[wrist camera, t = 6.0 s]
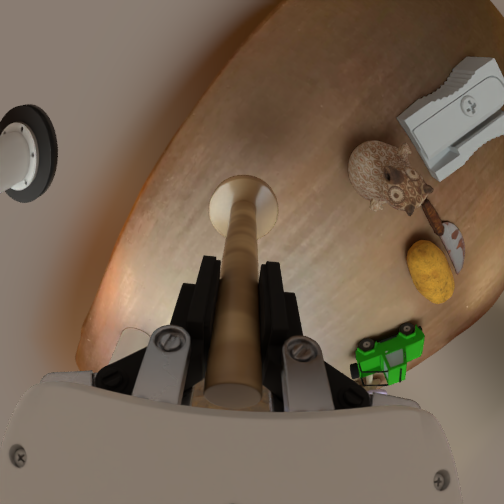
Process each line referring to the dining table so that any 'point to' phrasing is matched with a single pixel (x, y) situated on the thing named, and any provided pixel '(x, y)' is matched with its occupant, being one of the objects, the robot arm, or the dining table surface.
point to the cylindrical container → (129, 343)
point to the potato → (430, 271)
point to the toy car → (388, 355)
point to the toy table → (373, 388)
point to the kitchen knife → (447, 236)
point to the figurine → (387, 176)
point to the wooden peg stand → (238, 291)
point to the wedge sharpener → (457, 116)
